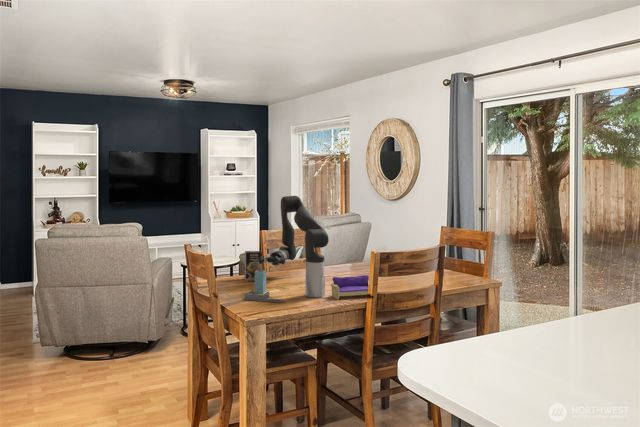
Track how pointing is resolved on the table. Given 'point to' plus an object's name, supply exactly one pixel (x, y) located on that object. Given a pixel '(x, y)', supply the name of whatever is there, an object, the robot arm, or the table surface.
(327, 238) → the robot arm
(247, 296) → the rail bay
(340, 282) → the toy sofa
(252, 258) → the coffee box
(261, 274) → the block
